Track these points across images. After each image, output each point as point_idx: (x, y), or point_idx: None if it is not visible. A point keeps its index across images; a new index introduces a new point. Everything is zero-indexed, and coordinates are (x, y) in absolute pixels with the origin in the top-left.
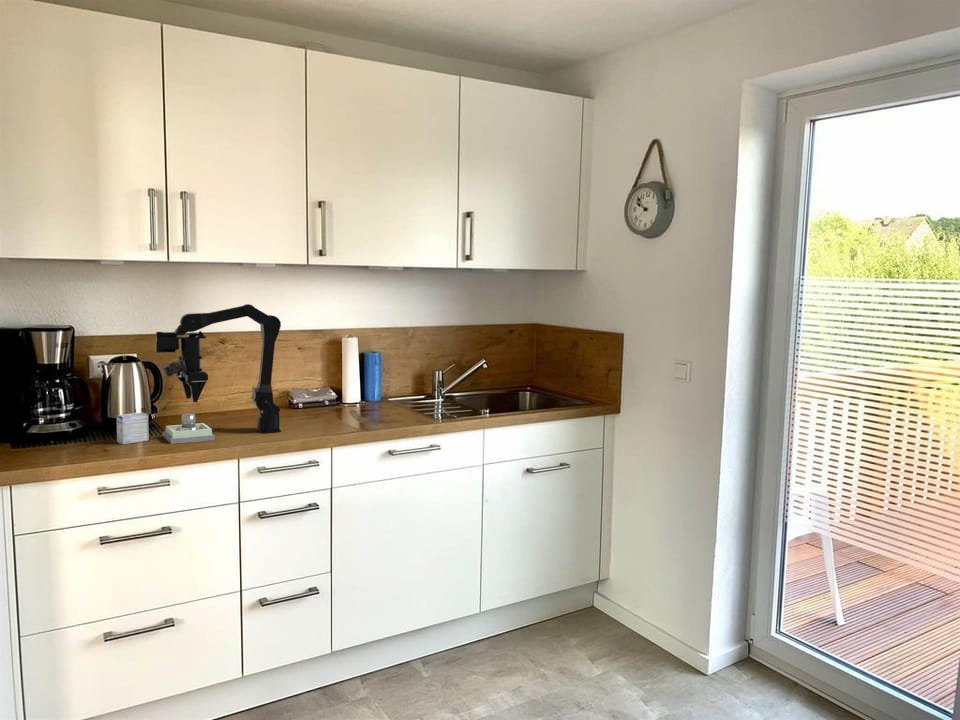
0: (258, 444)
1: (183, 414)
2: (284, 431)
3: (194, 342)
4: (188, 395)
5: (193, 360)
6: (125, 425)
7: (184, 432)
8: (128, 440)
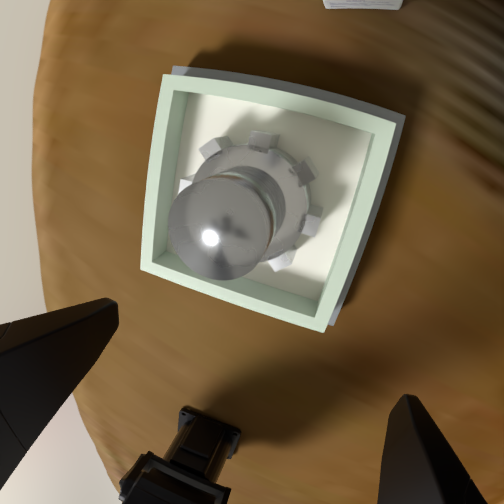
0: (55, 302)
1: (239, 203)
2: None
3: None
4: (396, 429)
5: None
6: None
7: (156, 134)
8: None
